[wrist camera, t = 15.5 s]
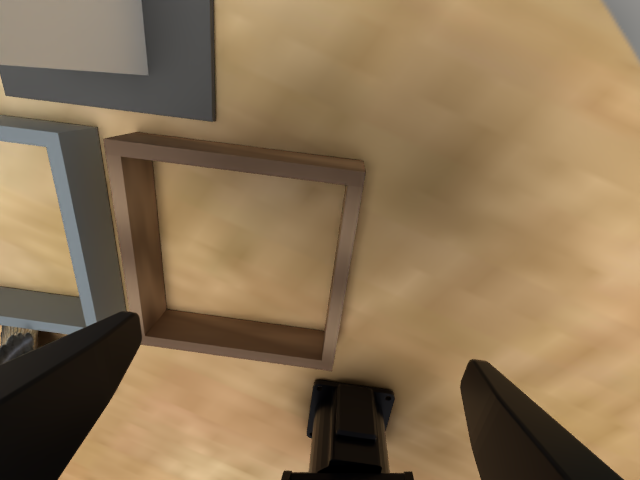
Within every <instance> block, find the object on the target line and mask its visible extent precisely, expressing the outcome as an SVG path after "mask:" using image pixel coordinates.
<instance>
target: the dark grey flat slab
mask: <svg viewBox="0 0 640 480" xmlns="http://www.w3.org/2000/svg"><path fill="white" fill-rule="evenodd" d="M141 1H142V12H143V22H144V33H145V43H146V54H147V65H148V75H135V74H121V73H107V72H93V71H79V70H65V69H51V68H38V67H24V66H10V65H0V75H1V79H2V83H3V87H4V91H5V95H6V96H12V97H20V98H28V99H36V100H44V101H52V102H60V103H68V104H76V105H84V106H92V107H100V108H108V109H116V110H124V111H132V112H140V113H148V114H155V115H163V116H171V117H179V118H187V119H195V120H203V121H211V122H213V121H215V67H214V10H213V0H141Z"/></svg>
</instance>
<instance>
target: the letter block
mask: <svg viewBox="0 0 640 480" xmlns="http://www.w3.org/2000/svg"><path fill="white" fill-rule="evenodd" d="M0 65H10V66H24V67H38V68H51V69H65V70H79V71H93V72H107V73H121V74H135V75H148V65H147V54H146V43H145V33H144V22H143V12H142V1H141V0H0Z"/></svg>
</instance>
